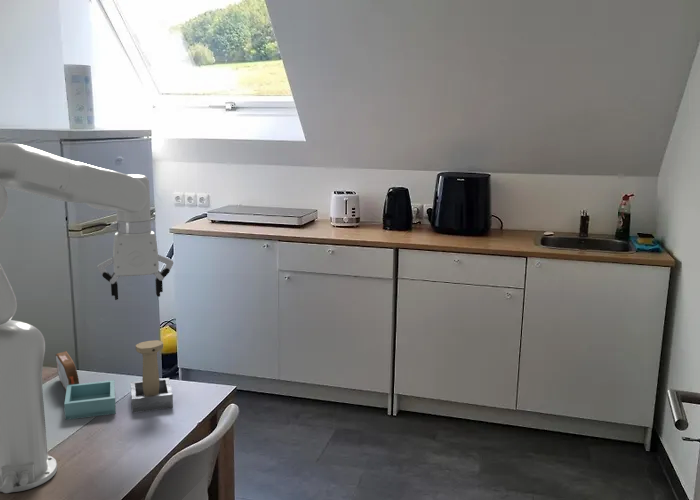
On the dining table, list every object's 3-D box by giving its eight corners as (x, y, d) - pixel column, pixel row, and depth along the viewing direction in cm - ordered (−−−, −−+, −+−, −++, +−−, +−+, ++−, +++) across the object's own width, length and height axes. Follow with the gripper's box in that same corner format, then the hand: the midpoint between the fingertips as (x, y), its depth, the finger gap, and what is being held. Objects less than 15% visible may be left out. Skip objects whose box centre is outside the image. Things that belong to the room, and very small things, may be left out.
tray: (115, 413, 154) (114, 398, 153) (65, 419, 150) (64, 403, 149) (115, 394, 164) (114, 379, 163) (68, 400, 160) (67, 385, 159)
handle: (135, 401, 161) (132, 344, 158) (159, 394, 165) (157, 338, 162) (143, 408, 157) (140, 349, 154) (168, 401, 161) (166, 344, 158)
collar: (173, 407, 158) (172, 394, 157) (132, 412, 155) (131, 399, 154) (169, 390, 167) (168, 377, 167) (131, 395, 164) (130, 382, 163)
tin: (81, 396, 163) (79, 364, 161) (67, 399, 161) (65, 367, 159) (68, 375, 175) (66, 346, 173) (55, 378, 173) (53, 348, 171)
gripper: (95, 231, 146) (99, 304, 150) (173, 228, 152) (176, 298, 156) (94, 225, 153) (98, 295, 156) (170, 223, 159) (172, 290, 163)
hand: (137, 296), depth 156 cm, fingers open, 9 cm apart
